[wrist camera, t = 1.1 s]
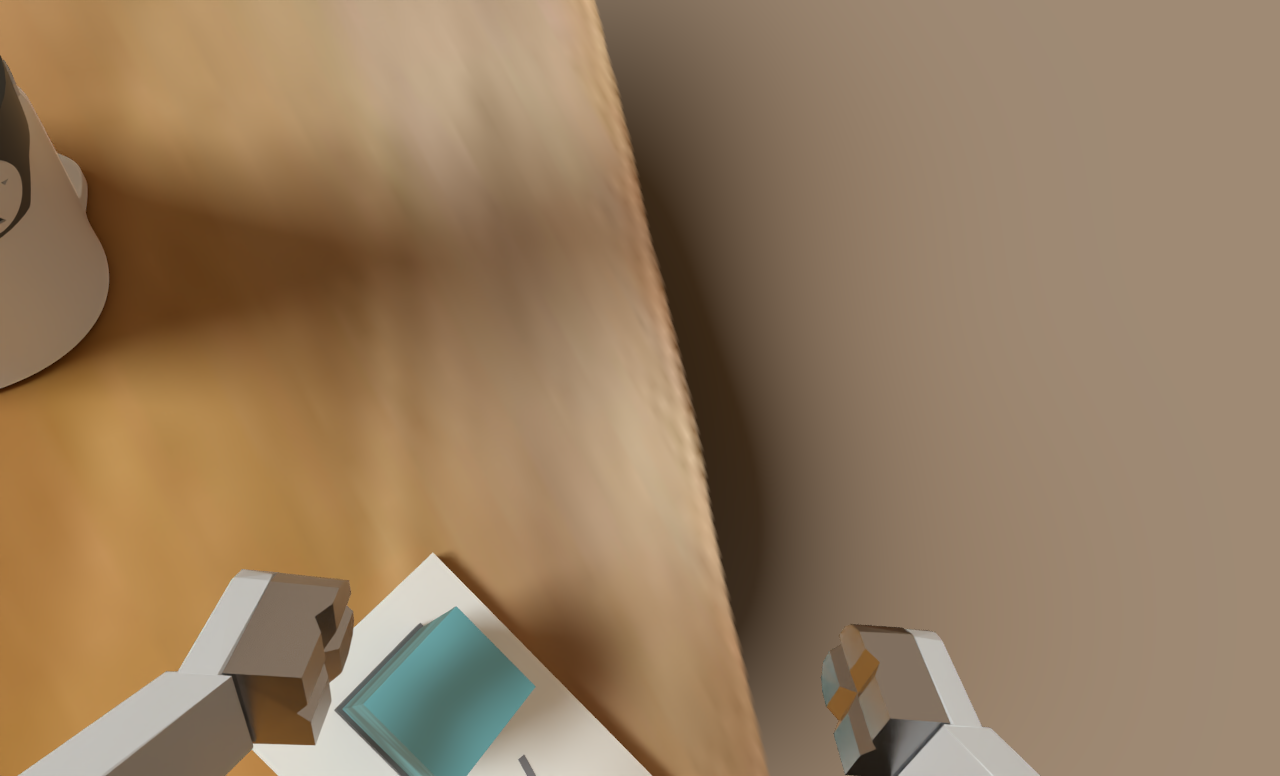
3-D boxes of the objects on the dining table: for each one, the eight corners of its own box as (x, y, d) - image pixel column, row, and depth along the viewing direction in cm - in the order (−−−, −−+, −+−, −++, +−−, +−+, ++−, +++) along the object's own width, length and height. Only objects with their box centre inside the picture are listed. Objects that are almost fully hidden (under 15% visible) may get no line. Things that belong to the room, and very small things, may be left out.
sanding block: (333, 710, 32) (355, 704, 25) (417, 625, 36) (456, 599, 29) (410, 786, 32) (452, 802, 25) (485, 694, 36) (542, 685, 29)
